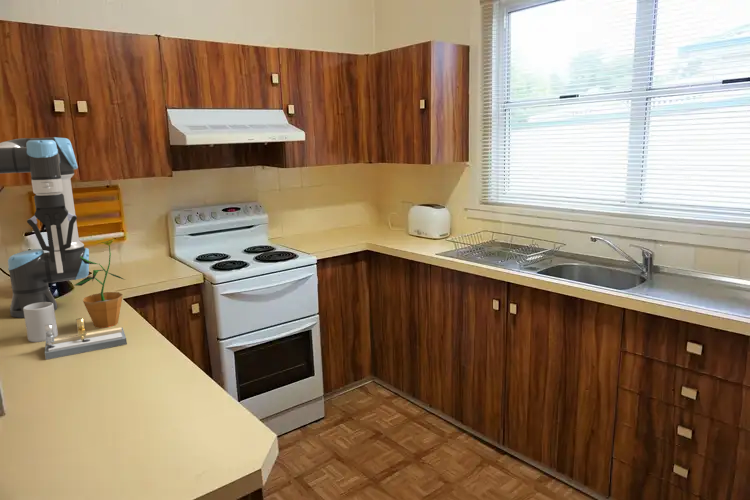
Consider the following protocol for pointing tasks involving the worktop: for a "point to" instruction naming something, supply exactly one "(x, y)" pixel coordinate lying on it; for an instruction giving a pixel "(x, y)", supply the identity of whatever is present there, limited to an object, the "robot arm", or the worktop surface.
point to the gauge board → (85, 343)
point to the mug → (39, 320)
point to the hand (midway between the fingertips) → (60, 271)
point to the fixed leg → (49, 334)
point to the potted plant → (102, 299)
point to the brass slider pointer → (81, 328)
